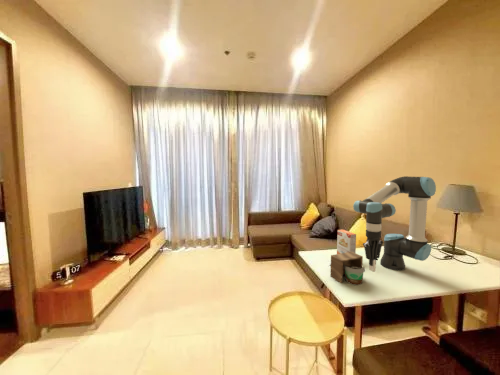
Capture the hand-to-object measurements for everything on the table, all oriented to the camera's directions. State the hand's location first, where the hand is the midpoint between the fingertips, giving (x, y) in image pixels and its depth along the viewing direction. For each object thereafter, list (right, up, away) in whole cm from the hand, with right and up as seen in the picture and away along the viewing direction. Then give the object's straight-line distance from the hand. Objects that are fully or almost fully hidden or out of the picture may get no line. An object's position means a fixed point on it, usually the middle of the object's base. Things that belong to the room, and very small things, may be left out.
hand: (372, 270), depth 125 cm
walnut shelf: (-7, -11, +18) cm, 23 cm away
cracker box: (+6, -9, +49) cm, 50 cm away
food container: (-5, -12, +11) cm, 17 cm away
